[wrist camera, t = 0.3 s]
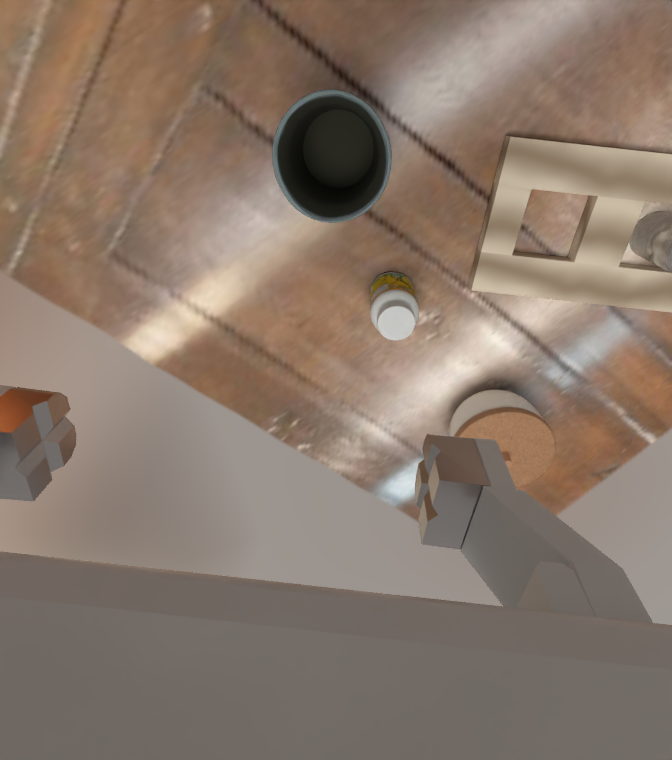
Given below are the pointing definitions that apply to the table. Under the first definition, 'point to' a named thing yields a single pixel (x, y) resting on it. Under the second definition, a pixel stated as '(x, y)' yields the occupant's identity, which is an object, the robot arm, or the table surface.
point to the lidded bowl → (508, 431)
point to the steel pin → (654, 239)
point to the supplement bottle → (393, 305)
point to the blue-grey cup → (331, 156)
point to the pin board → (595, 231)
